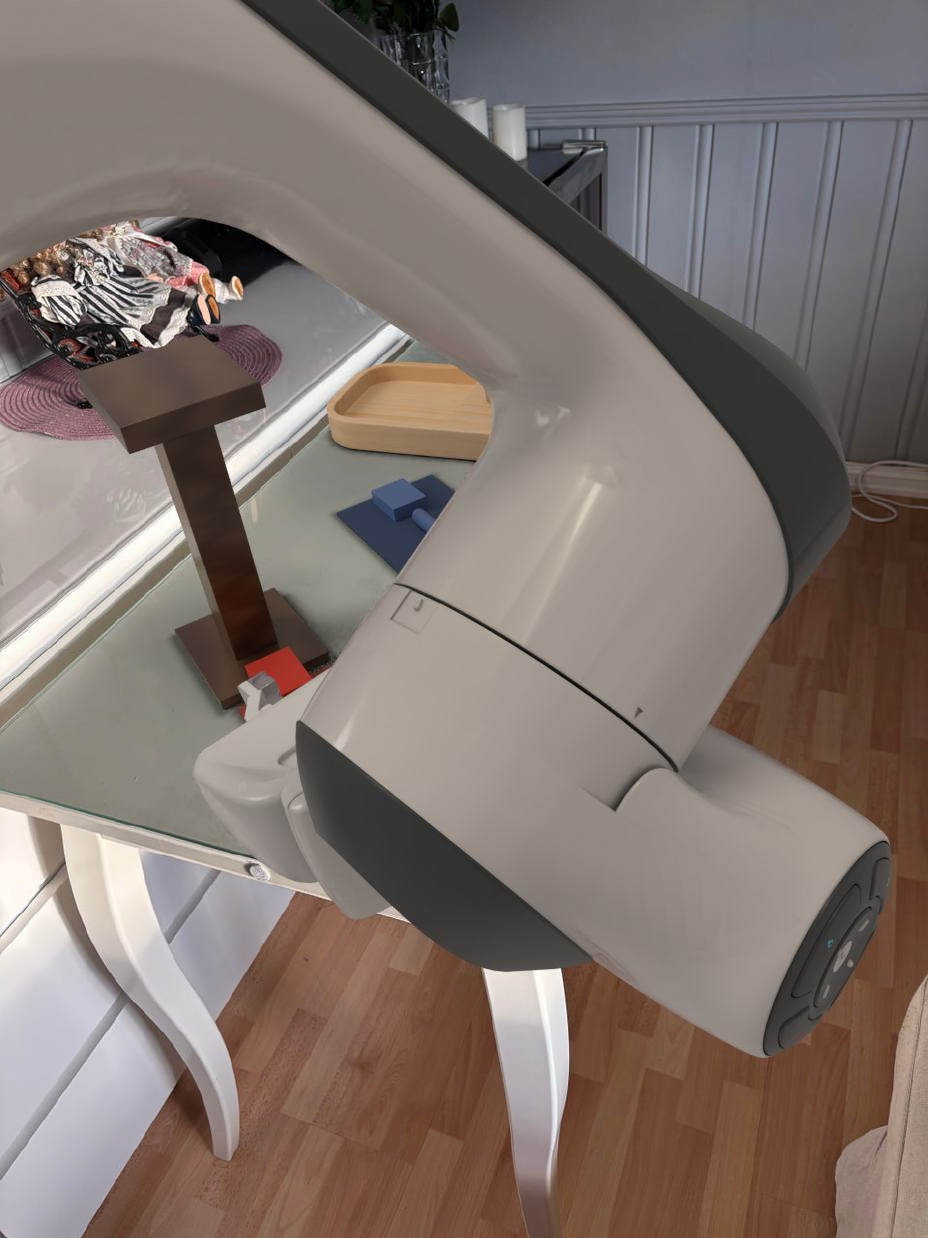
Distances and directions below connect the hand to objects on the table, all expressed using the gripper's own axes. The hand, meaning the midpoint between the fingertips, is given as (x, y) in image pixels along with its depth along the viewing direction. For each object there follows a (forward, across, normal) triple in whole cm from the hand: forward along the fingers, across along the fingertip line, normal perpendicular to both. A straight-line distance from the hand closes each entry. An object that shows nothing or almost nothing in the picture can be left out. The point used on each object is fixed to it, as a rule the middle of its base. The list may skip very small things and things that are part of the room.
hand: (330, 640), depth 48 cm
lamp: (+50, -44, +15) cm, 69 cm away
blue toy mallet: (+34, -26, +16) cm, 46 cm away
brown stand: (+32, -4, +16) cm, 36 cm away
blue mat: (+34, -26, +17) cm, 46 cm away
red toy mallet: (+18, -2, +18) cm, 25 cm away
